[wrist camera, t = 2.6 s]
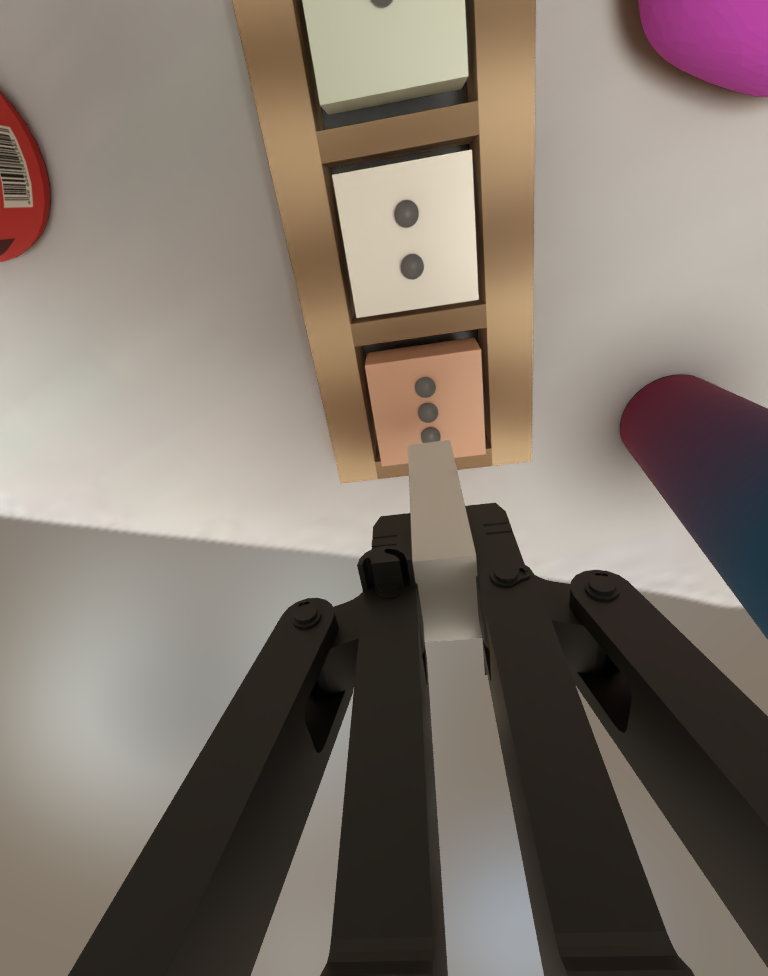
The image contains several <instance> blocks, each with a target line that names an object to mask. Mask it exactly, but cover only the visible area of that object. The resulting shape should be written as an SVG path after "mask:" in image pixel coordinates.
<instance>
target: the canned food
mask: <svg viewBox="0 0 768 976" xmlns="http://www.w3.org/2000/svg"><path fill="white" fill-rule="evenodd" d="M49 209H50V188H49V181H48V176H47V172H46V168H45V164H44V161H43V159H42V156H41V153H40V151H39V148H38V146H37V143H36V141H35V140H34V138H33V136H32V134H31V132H30V130H29V129H28V127H27V125H26V123H25V122H24V120H23V119H22V118H21V116H20V115H19V113H18V112H17V111H16V109H15V108H14V106H13V105H12V104H11V103H10V102H9V101H8V100H7V98H6V97H5V96H4V95H3V94H2V93H1V92H0V262H3V261H6V260H9V259H12V258H15V257H17V256H19V255H20V254H22V253H23V252H24V251H26V250H27V249H28V248H29V247H30V246H32V245H33V244H34V243H35V242H36V241H37V239H38V238H39V237H40V235H41V234H42V232H43V231H44V228H45V225H46V223H47V220H48V217H49Z"/></svg>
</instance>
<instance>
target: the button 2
mask: <svg viewBox="0 0 768 976" xmlns="http://www.w3.org/2000/svg"><path fill="white" fill-rule="evenodd" d="M332 178H333V184H334V189H335V195H336V201H337V207H338V213H339V219H340V224H341V230H342V236H343V242H344V248H345V254H346V259H347V265H348V271H349V277H350V283H351V289H352V295H353V300H354V306H355V312H356V318H360V317H367V316H374V315H380V314H387V313H394V312H400V311H407V310H414V309H420V308H427V307H434V306H440V305H447V304H454V303H460V302H467V301H474V300H479V294H478V273H477V251H476V229H475V207H474V185H473V163H472V150H467V151H461V152H456V153H450V154H445V155H439V156H434V157H428V158H423V159H417V160H412V161H406V162H401V163H395V164H390V165H384V166H379V167H373V168H368V169H362V170H357V171H351V172H346V173H340V174H335V175H332Z"/></svg>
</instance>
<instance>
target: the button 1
mask: <svg viewBox="0 0 768 976" xmlns="http://www.w3.org/2000/svg"><path fill="white" fill-rule="evenodd" d="M302 2H303V8H304V14H305V20H306V26H307V32H308V37H309V43H310V49H311V55H312V61H313V67H314V73H315V78H316V84H317V90H318V96H319V102H320V106H321V107H322V108H323V109H324V111H325V112H326V113H327V114H328V115H331V114H337V113H342V112H347V111H352V110H357V109H362V108H367V107H372V106H378V105H383V104H388V103H393V102H398V101H403V100H408V99H414V98H419V97H424V96H429V95H434V94H439V93H444V92H449V91H455V90H460V89H462V87H463V85H464V84H465V82H466V80H467V78H468V54H467V32H466V10H465V0H302Z"/></svg>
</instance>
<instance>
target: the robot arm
mask: <svg viewBox="0 0 768 976" xmlns="http://www.w3.org/2000/svg"><path fill="white" fill-rule="evenodd" d="M408 461H409V487H410V513H408V514H399V515H390V516H381V517H380V518H379V520H378V521H377V522H376V524H375V525H374V527H373V540H372V550H370V551H368V552H366V553H365V554H364V555H363V556H362V557H361V558H360V559H359V562H358V564H357V566H358V570H359V575H360V580H361V584H362V588H363V592H362V593H361V594H360V595H359V596H358V597H356V598H355V599H353V600H351V601H349V602H346V603H344V604H341V605H338V606H335V607H333V606H332V604H330V603H329V602H328V601H326V600H324V599H320V598H308V599H305V600H302V601H299V602H296V603H295V604H293V605H292V606H290V607H289V608H288V609H287V610H286V611H285V612H284V614H283V615H282V616H281V618H280V620H279V621H278V623H277V625H276V626H275V628H274V630H273V632H272V633H271V635H270V637H269V638H268V640H267V642H266V643H265V645H264V647H263V648H262V650H261V652H260V653H259V655H258V657H257V658H256V660H255V662H254V663H253V665H252V667H251V669H250V670H249V672H248V674H247V675H246V677H245V679H244V680H243V682H242V684H241V686H240V687H239V689H238V690H237V692H236V694H235V695H234V697H233V699H232V700H231V702H230V704H229V706H228V707H227V709H226V711H225V712H224V714H223V716H222V717H221V719H220V721H219V722H218V724H217V726H216V727H215V729H214V731H213V733H212V734H211V736H210V738H209V739H208V741H207V743H206V744H205V746H204V748H203V749H202V751H201V753H200V754H199V756H198V758H197V759H196V761H195V763H194V765H193V766H192V768H191V769H190V771H189V773H188V775H187V776H186V778H185V780H184V781H183V783H182V785H181V786H180V788H179V790H178V792H177V793H176V795H175V796H174V799H173V800H172V802H171V803H170V805H169V806H168V808H167V810H166V812H165V813H164V815H163V817H162V818H161V820H160V822H159V823H158V825H157V827H156V828H155V830H154V832H153V833H152V835H151V837H150V839H149V840H148V842H147V844H146V845H145V847H144V849H143V850H142V852H141V854H140V855H139V857H138V859H137V860H136V862H135V864H134V865H133V867H132V869H131V870H130V872H129V874H128V876H127V877H126V879H125V881H124V882H123V884H122V886H121V887H120V889H119V891H118V892H117V894H116V896H115V897H114V899H113V901H112V902H111V904H110V906H109V908H108V909H107V911H106V912H105V914H104V916H103V918H102V919H101V921H100V923H99V924H98V926H97V928H96V929H95V931H94V933H93V934H92V936H91V938H90V939H89V941H88V943H87V944H86V946H85V948H84V950H83V951H82V953H81V955H80V956H79V958H78V960H77V961H76V963H75V965H74V967H73V968H72V970H71V971H70V973H69V975H68V976H250V975H251V973H252V970H253V967H254V964H255V961H256V959H257V956H258V953H259V951H260V947H261V945H262V942H263V939H264V937H265V934H266V931H267V928H268V926H269V923H270V920H271V917H272V915H273V912H274V909H275V906H276V904H277V901H278V898H279V895H280V893H281V890H282V887H283V884H284V882H285V879H286V876H287V873H288V871H289V868H290V865H291V862H292V859H293V856H294V854H295V851H296V848H297V845H298V843H299V840H300V837H301V834H302V832H303V829H304V826H305V824H306V821H307V818H308V815H309V813H310V810H311V807H312V804H313V801H314V799H315V796H316V793H317V790H318V788H319V785H320V782H321V779H322V777H323V774H324V771H325V768H326V766H327V763H328V760H329V757H330V755H331V751H332V749H333V746H334V743H335V741H336V738H337V735H338V732H339V729H340V727H341V724H342V721H343V718H344V716H345V713H346V710H347V707H348V705H349V702H350V699H351V696H352V694H353V688H354V695H353V707H352V717H351V728H350V739H349V750H348V761H347V772H346V783H345V794H344V805H343V816H342V827H341V838H340V848H339V860H338V871H337V882H336V892H335V904H334V914H333V925H332V936H331V945H330V953H329V957H328V961H327V964H326V966H325V968H324V970H323V971H322V973H321V975H320V976H448V970H447V956H446V940H445V926H444V912H443V911H444V910H443V895H442V880H441V864H440V849H439V834H438V819H437V804H436V790H435V774H434V759H433V744H432V730H431V713H430V698H429V683H428V669H427V657H426V650H425V642H437V641H449V640H461V639H473V638H482V639H483V651H484V667H485V675H488V680H489V685H490V690H491V696H492V701H493V707H494V712H495V717H496V723H497V727H498V733H499V738H500V744H501V749H502V754H503V760H504V765H505V770H506V776H507V781H508V786H509V792H510V796H511V802H512V807H513V812H514V818H515V823H516V829H517V834H518V839H519V844H520V850H521V855H522V860H523V866H524V871H525V876H526V881H527V887H528V892H529V898H530V903H531V908H532V913H533V919H534V924H535V929H536V935H537V940H538V945H539V951H540V956H541V961H542V966H543V971H544V976H694V974H693V972H692V971H691V969H690V968H689V967H688V966H687V965H686V964H685V963H684V962H683V961H682V960H681V958H680V957H679V956H678V955H677V953H676V951H675V950H674V948H673V946H672V944H671V941H670V939H669V936H668V934H667V932H666V929H665V926H664V924H663V921H662V918H661V916H660V913H659V910H658V907H657V905H656V902H655V899H654V897H653V894H652V891H651V888H650V886H649V883H648V880H647V878H646V875H645V872H644V870H643V867H642V864H641V862H640V859H639V856H638V854H637V851H636V848H635V845H634V843H633V840H632V837H631V834H630V832H629V829H628V827H627V824H626V821H625V818H624V816H623V813H622V810H621V807H620V805H619V802H618V799H617V797H616V794H615V791H614V789H613V786H612V783H611V780H610V778H609V775H608V772H607V770H606V767H605V764H604V762H603V759H602V756H601V754H600V751H599V748H598V745H597V743H596V740H595V738H594V734H593V732H592V729H591V726H590V724H589V721H588V718H587V716H586V713H585V710H584V708H583V705H582V702H581V700H580V697H579V694H578V691H577V689H576V686H577V688H578V689H579V690H580V692H581V693H582V695H583V697H584V698H585V699H586V701H587V702H588V704H589V705H590V707H591V708H592V710H593V711H594V713H595V714H596V716H597V717H598V719H599V720H600V722H601V723H602V724H603V726H604V727H605V729H606V730H607V732H608V733H609V735H610V736H611V738H612V739H613V740H614V742H615V743H616V745H617V746H618V748H619V749H620V751H621V752H622V754H623V755H624V757H625V758H626V760H627V761H628V763H629V764H630V766H631V767H632V769H633V770H634V772H635V773H636V775H637V776H638V777H639V779H640V780H641V782H642V783H643V785H644V786H645V788H646V789H647V791H648V792H649V794H650V795H651V797H652V798H653V799H654V801H655V802H656V804H657V805H658V807H659V808H660V810H661V811H662V813H663V814H664V816H665V817H666V819H667V820H668V822H669V823H670V825H671V826H672V828H673V829H674V830H675V832H676V833H677V835H678V836H679V838H680V839H681V841H682V842H683V844H684V845H685V846H686V848H687V849H688V851H689V853H690V854H691V855H692V857H693V858H694V860H695V861H696V863H697V864H698V866H699V867H700V869H701V870H702V872H703V873H704V875H705V876H706V878H707V879H708V880H709V882H710V883H711V885H712V886H713V888H714V889H715V891H716V892H717V894H718V895H719V897H720V898H721V900H722V901H723V903H724V904H725V906H726V907H727V908H728V910H729V911H730V913H731V914H732V916H733V917H734V919H735V920H736V922H737V923H738V925H739V926H740V928H741V929H742V930H743V932H744V933H745V935H746V936H747V938H748V939H749V941H750V942H751V944H752V945H753V947H754V948H755V949H756V951H757V953H758V954H759V956H760V957H761V958H762V960H763V961H764V963H765V964H766V966H767V967H768V716H767V715H766V714H765V713H764V712H763V711H761V709H760V708H758V707H757V706H756V705H755V704H754V703H753V702H752V701H751V700H750V699H749V698H748V697H747V696H746V695H745V694H744V693H743V692H742V691H741V690H740V689H739V688H738V687H737V686H736V685H735V684H734V683H733V682H732V681H730V679H729V678H727V677H726V676H725V675H724V674H723V673H722V672H721V671H720V670H719V669H718V668H717V667H716V666H715V665H714V664H713V663H712V662H711V661H710V660H709V659H708V658H707V657H706V656H705V655H704V654H703V653H701V651H699V649H697V648H696V647H695V646H694V645H693V644H692V643H691V642H690V641H689V640H688V639H687V638H686V637H685V636H684V635H683V634H682V633H681V632H680V631H679V630H678V629H677V628H676V627H675V626H674V625H673V624H671V622H670V621H669V620H667V619H666V618H665V617H664V616H663V615H662V614H661V613H660V612H659V611H658V610H657V609H656V608H655V607H654V606H653V605H652V604H651V603H650V602H649V601H648V600H647V599H646V598H645V597H644V596H643V595H641V593H640V592H639V591H637V590H636V589H635V588H634V587H633V586H632V585H631V584H630V583H629V582H628V581H627V580H625V579H624V578H622V577H621V576H619V575H617V574H614V573H611V572H609V571H602V570H590V571H584V572H582V573H580V574H578V575H576V576H575V577H574V578H573V579H572V581H571V584H566V583H559V582H553V581H548V580H545V579H542V578H539V577H537V576H536V575H534V573H533V572H532V570H531V569H530V568H529V567H528V566H526V565H525V564H524V562H523V559H522V556H521V553H520V550H519V548H518V545H517V542H516V539H515V536H514V534H513V532H512V528H511V525H510V524H509V520H508V517H507V514H506V511H505V510H503V509H502V508H501V507H500V506H499V505H497V504H496V503H489V504H480V505H470V506H465V504H464V499H463V495H462V490H461V486H460V482H459V477H458V473H457V468H456V464H455V459H454V455H453V451H452V446H451V442H450V440H445V441H437V442H429V443H421V444H413V445H408ZM481 634H482V636H481ZM575 685H576V686H575Z"/></svg>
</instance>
